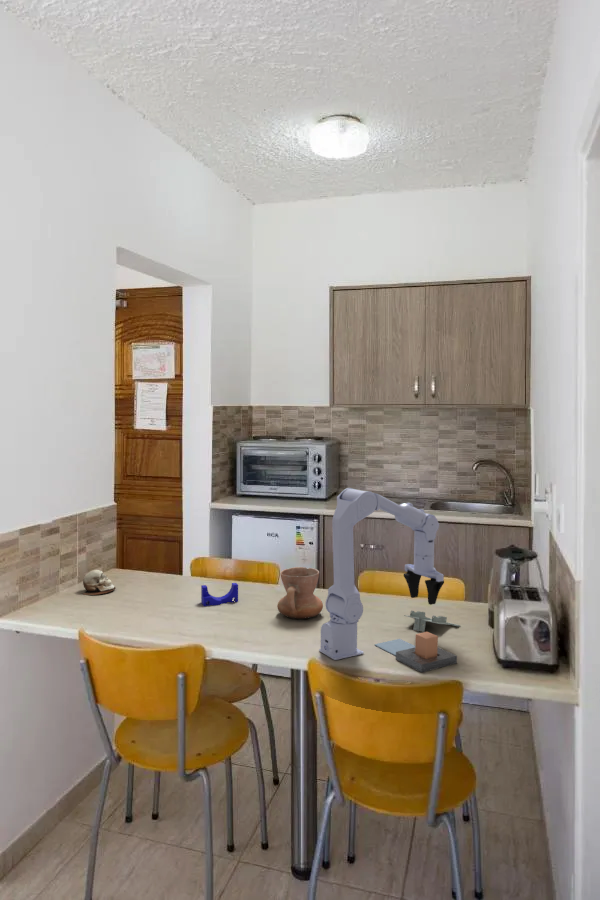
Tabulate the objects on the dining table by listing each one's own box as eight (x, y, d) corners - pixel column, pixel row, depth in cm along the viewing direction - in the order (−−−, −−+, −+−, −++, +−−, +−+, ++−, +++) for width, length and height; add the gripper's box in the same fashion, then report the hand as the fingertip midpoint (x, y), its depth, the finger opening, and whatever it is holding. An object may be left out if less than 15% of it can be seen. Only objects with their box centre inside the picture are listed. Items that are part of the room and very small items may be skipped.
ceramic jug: (289, 605, 219) (289, 563, 218) (330, 609, 213) (330, 567, 212) (266, 622, 202) (266, 576, 201) (310, 627, 197) (309, 581, 195)
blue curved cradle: (203, 606, 217) (203, 588, 216) (201, 602, 221) (201, 585, 221) (239, 603, 220) (239, 586, 220) (236, 600, 225) (236, 582, 224)
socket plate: (421, 672, 163) (421, 664, 163) (395, 659, 171) (395, 651, 171) (456, 663, 169) (456, 655, 169) (430, 651, 178) (430, 643, 177)
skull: (119, 582, 241) (115, 567, 234) (114, 607, 234) (110, 592, 226) (86, 581, 240) (81, 566, 233) (80, 606, 233) (74, 591, 226)
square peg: (425, 665, 167) (426, 638, 167) (415, 660, 171) (415, 634, 170) (437, 662, 170) (437, 636, 169) (426, 657, 173) (427, 631, 173)
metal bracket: (442, 617, 189) (397, 607, 198) (439, 638, 188) (394, 627, 198) (463, 620, 200) (419, 610, 209) (460, 639, 199) (416, 628, 208)
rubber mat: (395, 655, 174) (395, 654, 174) (374, 645, 182) (374, 644, 182) (421, 649, 179) (421, 648, 179) (399, 639, 186) (399, 638, 186)
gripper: (452, 557, 185) (450, 604, 186) (417, 548, 197) (416, 592, 198) (433, 560, 181) (432, 608, 182) (399, 550, 194) (398, 595, 195)
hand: (423, 600), depth 190 cm, fingers open, 7 cm apart
